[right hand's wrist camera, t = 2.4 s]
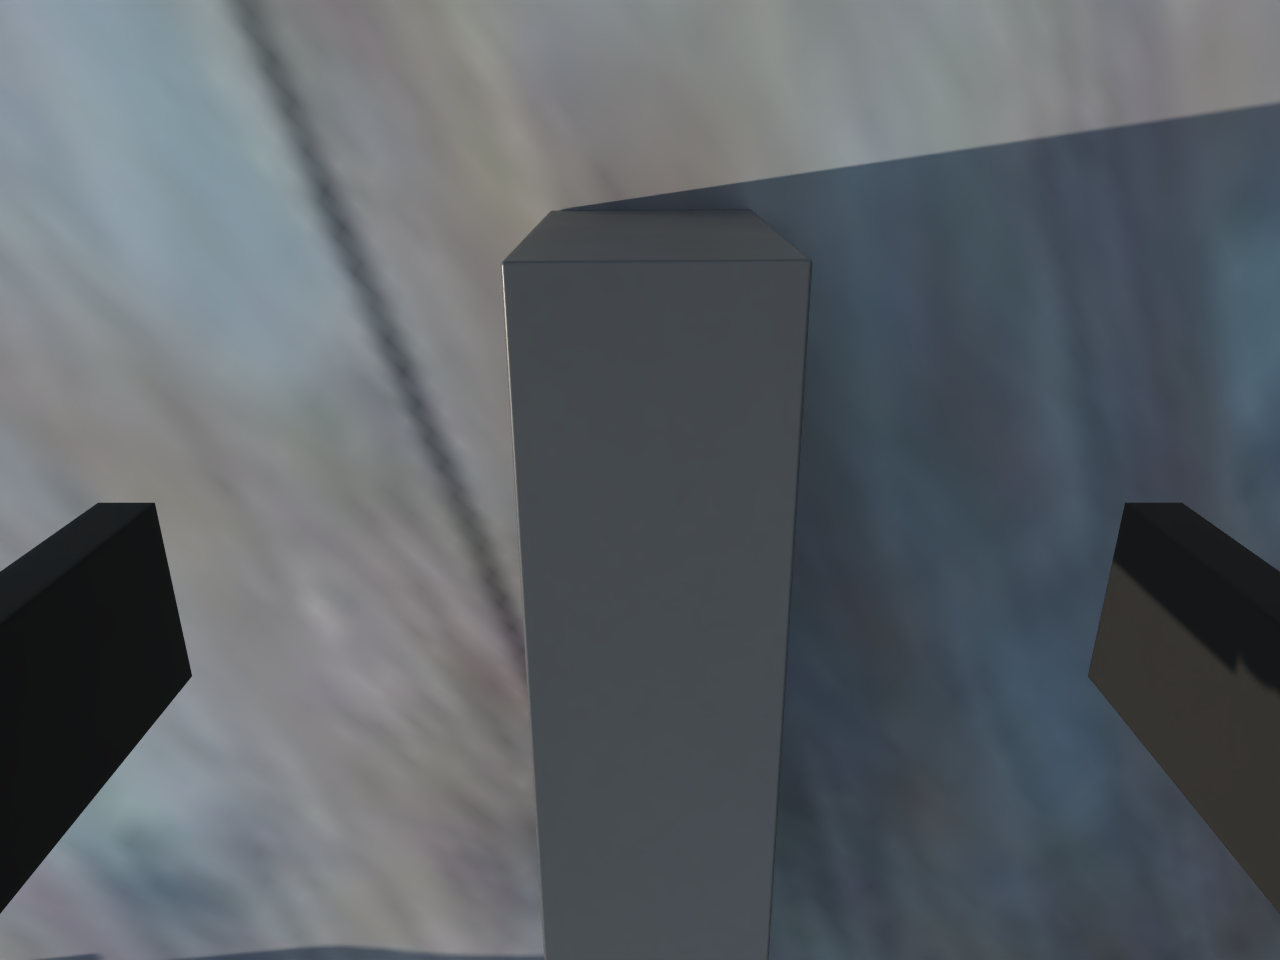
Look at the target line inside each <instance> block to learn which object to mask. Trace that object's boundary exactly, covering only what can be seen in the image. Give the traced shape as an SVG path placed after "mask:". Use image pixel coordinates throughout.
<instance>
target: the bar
mask: <svg viewBox="0 0 1280 960" xmlns="http://www.w3.org/2000/svg"><path fill="white" fill-rule="evenodd" d="M501 273H502V289H503V305H504V321H505V337H506V353H507V369H508V385H509V401H510V417H511V433H512V449H513V465H514V481H515V497H516V513H517V529H518V545H519V561H520V577H521V593H522V609H523V625H524V641H525V657H526V673H527V689H528V705H529V721H530V737H531V753H532V769H533V785H534V801H535V817H536V833H537V849H538V865H539V881H540V897H541V913H542V929H543V945H544V960H768V956H769V940H770V924H771V909H772V893H773V877H774V861H775V845H776V829H777V813H778V798H779V782H780V766H781V750H782V734H783V718H784V702H785V687H786V671H787V655H788V639H789V623H790V607H791V591H792V576H793V560H794V544H795V528H796V512H797V496H798V481H799V465H800V449H801V433H802V417H803V401H804V385H805V370H806V354H807V338H808V322H809V306H810V290H811V274H812V261H811V260H810V259H809V258H808V257H807V256H806V255H804V254H803V253H802V252H801V251H800V250H798V249H797V248H796V247H795V246H793V245H792V244H791V243H790V242H789V241H787V240H786V239H785V238H784V237H783V236H781V235H780V234H779V233H778V232H777V231H775V230H774V229H773V228H772V227H771V226H769V225H768V224H767V223H766V222H765V221H763V220H762V219H761V218H760V217H759V216H757V215H756V214H755V213H754V212H752V211H751V210H601V211H551V212H550V213H549V214H548V215H547V216H546V217H545V218H544V219H543V220H542V221H541V222H540V223H539V224H538V225H537V226H536V227H535V228H534V229H533V230H532V231H531V232H530V233H529V235H528V236H527V237H526V238H525V239H524V240H523V241H522V242H521V243H520V244H519V245H518V246H517V247H516V248H515V249H514V250H513V251H512V252H511V253H510V254H509V255H508V256H507V258H506V259H505V260H504V261H503V262H502V264H501Z"/></svg>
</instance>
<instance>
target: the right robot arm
mask: <svg viewBox="0 0 1280 960" xmlns="http://www.w3.org/2000/svg"><path fill="white" fill-rule="evenodd" d="M191 677H192V674H191V669H190V664H189V660H188V655H187V651H186V646H185V641H184V637H183V632H182V627H181V623H180V618H179V613H178V609H177V604H176V599H175V595H174V590H173V585H172V581H171V576H170V571H169V567H168V562H167V557H166V553H165V548H164V544H163V539H162V534H161V530H160V525H159V520H158V516H157V511H156V506H155V503H97V504H96V505H94V506H93V507H92V508H90V509H89V510H87V511H86V512H84V513H83V514H82V515H80V516H79V517H77V518H76V519H75V520H73V521H72V522H70V523H69V524H67V525H66V526H65V527H63V528H62V529H60V530H59V531H57V532H56V533H55V534H53V535H52V536H50V537H49V538H48V539H46V540H45V541H43V542H42V543H40V544H39V545H38V546H36V547H35V548H33V549H32V550H31V551H29V552H28V553H26V554H25V555H23V556H22V557H21V558H19V559H18V560H16V561H15V562H13V563H12V564H11V565H9V566H8V567H6V568H5V569H4V570H2V571H1V572H0V913H1V912H2V911H3V910H4V908H5V907H6V906H7V905H8V903H9V902H10V901H11V900H12V898H13V897H14V896H15V895H16V893H17V892H18V891H19V890H20V888H21V887H22V886H23V885H24V884H25V882H26V881H27V880H28V879H29V877H30V876H31V875H32V874H33V872H34V871H35V870H36V869H37V867H38V866H39V865H40V864H41V862H42V861H43V860H44V859H45V858H46V856H47V855H48V854H49V853H50V851H51V850H52V849H53V848H54V846H55V845H56V844H57V843H58V841H59V840H60V839H61V838H62V836H63V835H64V834H65V833H66V832H67V830H68V829H69V828H70V827H71V825H72V824H73V823H74V822H75V820H76V819H77V818H78V817H79V815H80V814H81V813H82V812H83V810H84V809H85V808H86V807H87V805H88V804H89V803H90V802H91V801H92V799H93V798H94V797H95V796H96V794H97V793H98V792H99V791H100V789H101V788H102V787H103V786H104V784H105V783H106V782H107V781H108V779H109V778H110V777H111V776H112V775H113V773H114V772H115V771H116V770H117V768H118V767H119V766H120V765H121V763H122V762H123V761H124V760H125V758H126V757H127V756H128V755H129V753H130V752H131V751H132V750H133V749H134V747H135V746H136V745H137V744H138V742H139V741H140V740H141V739H142V737H143V736H144V735H145V734H146V732H147V731H148V730H149V729H150V727H151V726H152V725H153V724H154V722H155V721H156V720H157V719H158V718H159V716H160V715H161V714H162V713H163V711H164V710H165V709H166V708H167V706H168V705H169V704H170V703H171V701H172V700H173V699H174V698H175V696H176V695H177V694H178V693H179V692H180V690H181V689H182V688H183V687H184V685H185V684H186V683H187V682H188V680H189V679H190V678H191ZM1088 677H1089V678H1090V679H1091V680H1092V682H1093V683H1094V684H1095V685H1096V687H1097V688H1098V689H1099V690H1100V692H1101V693H1102V694H1103V695H1104V696H1105V698H1106V699H1107V700H1108V701H1109V703H1110V704H1111V705H1112V706H1113V708H1114V709H1115V710H1116V711H1117V713H1118V714H1119V715H1120V716H1121V718H1122V719H1123V720H1124V721H1125V722H1126V724H1127V725H1128V726H1129V727H1130V729H1131V730H1132V731H1133V732H1134V734H1135V735H1136V736H1137V737H1138V739H1139V740H1140V741H1141V742H1142V744H1143V745H1144V746H1145V747H1146V749H1147V750H1148V751H1149V752H1150V753H1151V755H1152V756H1153V757H1154V758H1155V760H1156V761H1157V762H1158V763H1159V765H1160V766H1161V767H1162V768H1163V770H1164V771H1165V772H1166V773H1167V775H1168V776H1169V777H1170V778H1171V779H1172V781H1173V782H1174V783H1175V784H1176V786H1177V787H1178V788H1179V789H1180V791H1181V792H1182V793H1183V794H1184V796H1185V797H1186V798H1187V799H1188V801H1189V802H1190V803H1191V804H1192V805H1193V807H1194V808H1195V809H1196V810H1197V812H1198V813H1199V814H1200V815H1201V817H1202V818H1203V819H1204V820H1205V822H1206V823H1207V824H1208V825H1209V827H1210V828H1211V829H1212V830H1213V832H1214V833H1215V834H1216V835H1217V836H1218V838H1219V839H1220V840H1221V841H1222V843H1223V844H1224V845H1225V846H1226V848H1227V849H1228V850H1229V851H1230V853H1231V854H1232V855H1233V856H1234V858H1235V859H1236V860H1237V861H1238V862H1239V864H1240V865H1241V866H1242V867H1243V869H1244V870H1245V871H1246V872H1247V874H1248V875H1249V876H1250V877H1251V879H1252V880H1253V881H1254V882H1255V884H1256V885H1257V886H1258V887H1259V888H1260V890H1261V891H1262V892H1263V893H1264V895H1265V896H1266V897H1267V898H1268V900H1269V901H1270V902H1271V903H1272V905H1273V906H1274V907H1275V908H1276V910H1277V911H1278V912H1279V913H1280V572H1279V571H1278V570H1276V569H1275V568H1274V567H1272V566H1271V565H1269V564H1268V563H1267V562H1265V561H1264V560H1262V559H1261V558H1259V557H1258V556H1257V555H1255V554H1254V553H1252V552H1251V551H1249V550H1248V549H1247V548H1245V547H1244V546H1242V545H1241V544H1240V543H1238V542H1237V541H1235V540H1234V539H1232V538H1231V537H1230V536H1228V535H1227V534H1225V533H1224V532H1223V531H1221V530H1220V529H1218V528H1217V527H1215V526H1214V525H1213V524H1211V523H1210V522H1208V521H1207V520H1205V519H1204V518H1203V517H1201V516H1200V515H1198V514H1197V513H1196V512H1194V511H1193V510H1191V509H1190V508H1188V507H1187V506H1186V505H1184V504H1183V503H1125V506H1124V511H1123V516H1122V520H1121V525H1120V530H1119V534H1118V539H1117V544H1116V548H1115V553H1114V557H1113V562H1112V567H1111V571H1110V576H1109V581H1108V585H1107V590H1106V595H1105V599H1104V604H1103V609H1102V613H1101V618H1100V623H1099V627H1098V632H1097V637H1096V641H1095V646H1094V651H1093V655H1092V660H1091V664H1090V669H1089V674H1088Z"/></svg>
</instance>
